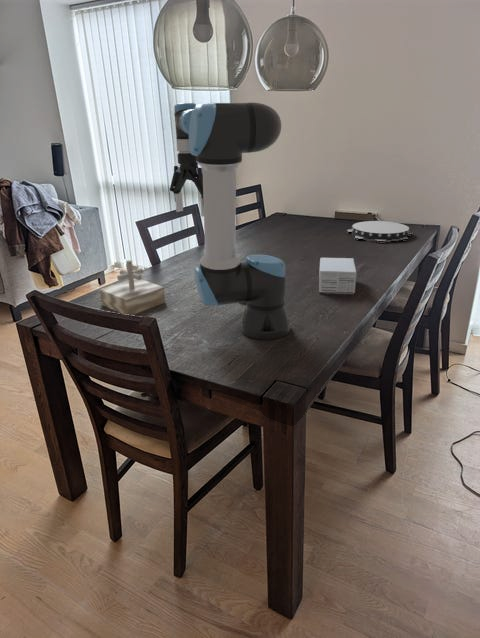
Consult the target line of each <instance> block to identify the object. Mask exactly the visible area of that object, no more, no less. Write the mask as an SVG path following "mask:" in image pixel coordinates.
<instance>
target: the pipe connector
mask: <svg viewBox="0 0 480 638" xmlns="http://www.w3.org/2000/svg"><path fill="white" fill-rule="evenodd" d="M132 261H133V260H131V259H127V260H126V261H125V263H126V270H124V269H120V270H119V274H120V275H117V276H116V277H117V280H118V282H120V281H121V282H122V281H123V280H126V279H128V280H129V288H130V289H134V288H135V286H134V279H137V280H141V279H143V277H142V274H144V269H143V268H138V269H135V270H133V263H132ZM128 280H127V281H128Z"/></svg>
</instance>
